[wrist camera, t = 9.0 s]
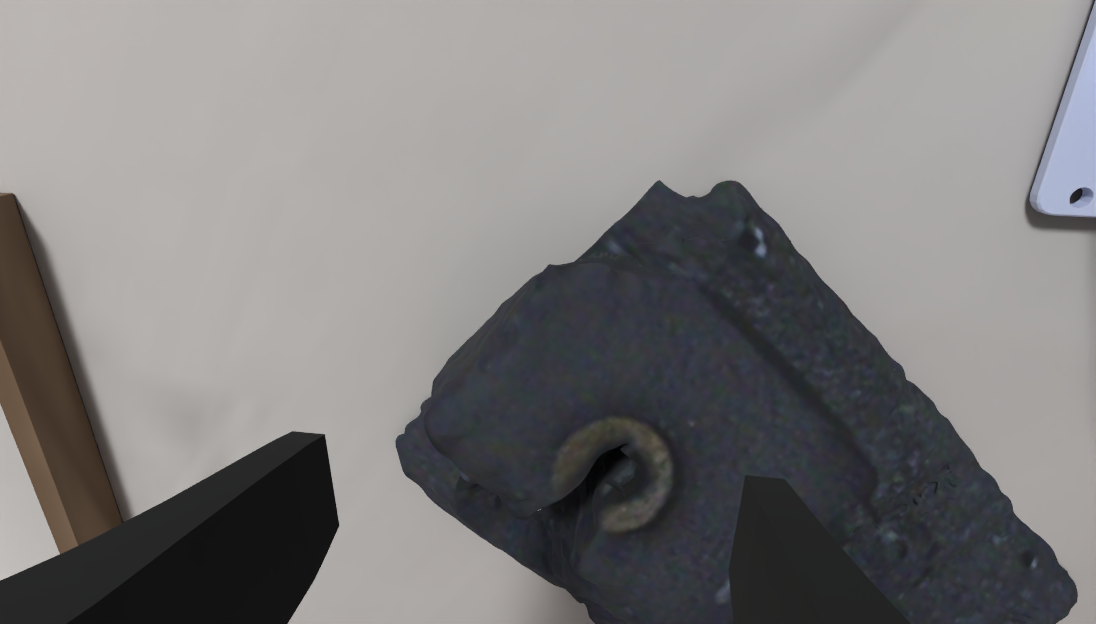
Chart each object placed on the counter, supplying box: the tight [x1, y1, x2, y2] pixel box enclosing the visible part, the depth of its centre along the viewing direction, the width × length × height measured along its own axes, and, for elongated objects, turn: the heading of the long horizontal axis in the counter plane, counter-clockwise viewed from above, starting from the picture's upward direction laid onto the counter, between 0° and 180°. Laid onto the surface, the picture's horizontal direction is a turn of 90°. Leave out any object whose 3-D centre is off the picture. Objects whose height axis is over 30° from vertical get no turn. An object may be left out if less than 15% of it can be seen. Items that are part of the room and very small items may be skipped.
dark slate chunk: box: [396, 180, 1078, 624], centre depth 19 cm, size 15×22×5 cm
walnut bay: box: [0, 193, 122, 554], centre depth 21 cm, size 40×22×2 cm, turn 89°
